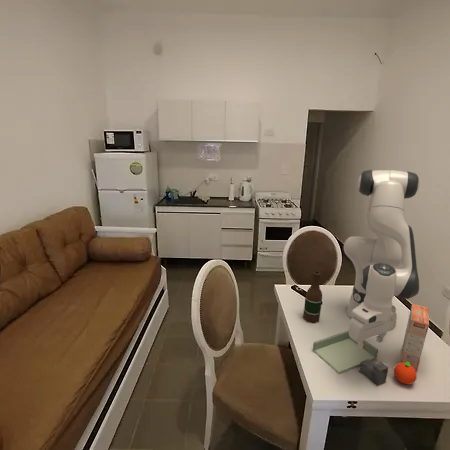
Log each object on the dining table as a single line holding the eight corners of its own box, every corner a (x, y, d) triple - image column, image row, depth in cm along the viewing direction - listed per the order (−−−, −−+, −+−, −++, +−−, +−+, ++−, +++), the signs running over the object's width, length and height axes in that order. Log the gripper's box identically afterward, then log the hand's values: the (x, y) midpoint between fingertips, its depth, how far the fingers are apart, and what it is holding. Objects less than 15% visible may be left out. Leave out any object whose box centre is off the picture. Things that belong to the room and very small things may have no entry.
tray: (348, 337, 134) (350, 329, 133) (376, 358, 122) (378, 349, 121) (312, 350, 125) (313, 342, 124) (338, 373, 113) (340, 364, 112)
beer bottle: (308, 312, 153) (313, 267, 146) (322, 319, 147) (329, 272, 141) (299, 318, 147) (304, 271, 141) (314, 325, 142) (320, 277, 135)
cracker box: (417, 374, 114) (429, 324, 109) (399, 367, 117) (409, 319, 112) (418, 352, 126) (429, 307, 120) (401, 347, 129) (411, 302, 123)
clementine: (395, 369, 116) (398, 353, 114) (416, 378, 112) (420, 362, 110) (390, 381, 110) (393, 365, 108) (412, 392, 106) (416, 374, 104)
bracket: (358, 371, 115) (361, 356, 113) (366, 367, 117) (369, 353, 115) (377, 386, 108) (380, 370, 106) (385, 382, 110) (388, 367, 108)
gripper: (388, 300, 115) (381, 333, 119) (348, 311, 106) (342, 346, 110) (404, 308, 110) (397, 342, 113) (363, 321, 101) (357, 357, 104)
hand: (370, 344), depth 111 cm, fingers open, 8 cm apart
